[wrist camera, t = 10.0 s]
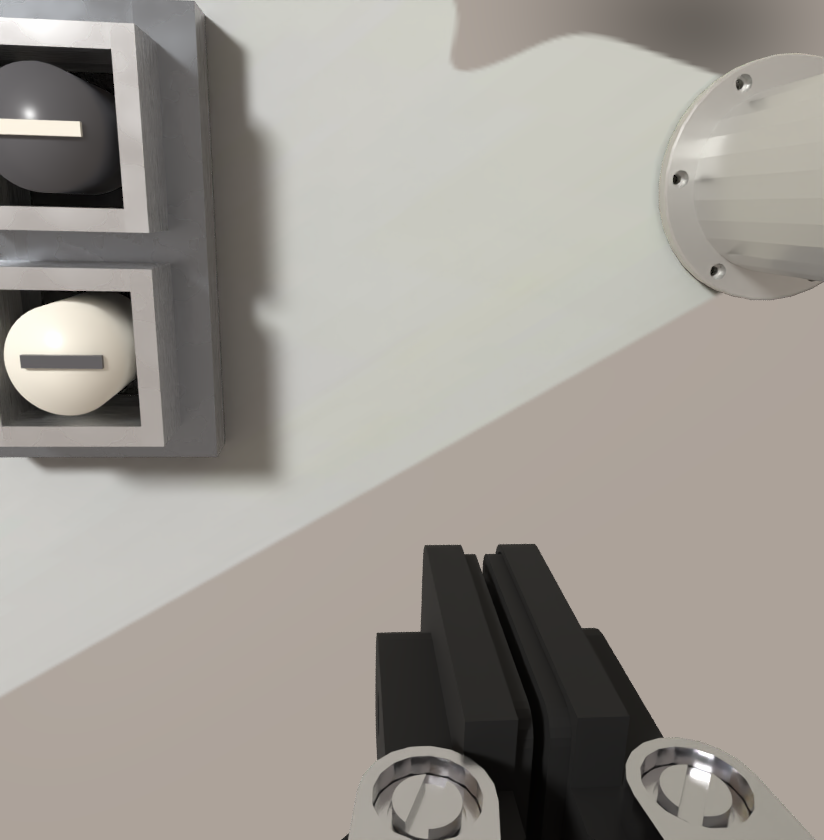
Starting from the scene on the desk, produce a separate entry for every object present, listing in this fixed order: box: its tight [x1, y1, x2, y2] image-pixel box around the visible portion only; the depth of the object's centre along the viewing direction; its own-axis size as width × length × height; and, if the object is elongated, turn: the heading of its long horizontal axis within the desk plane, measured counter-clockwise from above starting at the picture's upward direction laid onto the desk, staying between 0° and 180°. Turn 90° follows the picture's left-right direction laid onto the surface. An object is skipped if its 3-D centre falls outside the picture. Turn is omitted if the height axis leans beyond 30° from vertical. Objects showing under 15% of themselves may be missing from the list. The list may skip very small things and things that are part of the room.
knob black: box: [0, 61, 122, 195], centre depth 34 cm, size 5×5×6 cm
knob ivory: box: [4, 291, 137, 416], centre depth 36 cm, size 5×5×6 cm
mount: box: [0, 0, 225, 457], centre depth 36 cm, size 12×22×6 cm, turn 179°
